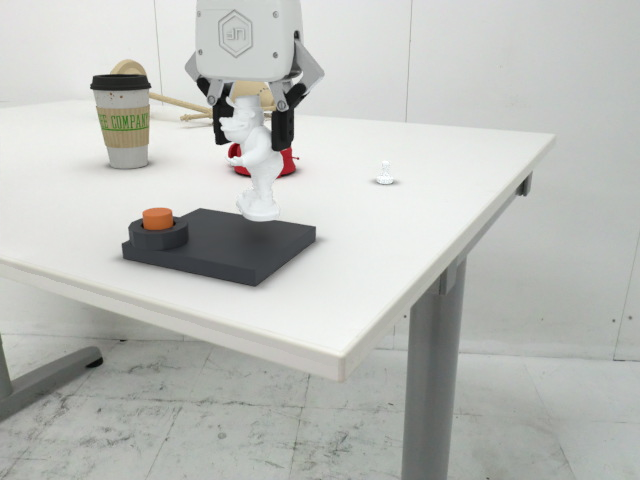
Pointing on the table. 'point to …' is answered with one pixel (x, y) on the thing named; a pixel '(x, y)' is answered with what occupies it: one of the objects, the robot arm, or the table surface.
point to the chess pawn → (385, 174)
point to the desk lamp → (239, 90)
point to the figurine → (254, 157)
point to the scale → (219, 245)
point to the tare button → (157, 218)
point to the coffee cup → (124, 117)
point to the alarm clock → (286, 153)
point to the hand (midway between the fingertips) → (253, 144)
